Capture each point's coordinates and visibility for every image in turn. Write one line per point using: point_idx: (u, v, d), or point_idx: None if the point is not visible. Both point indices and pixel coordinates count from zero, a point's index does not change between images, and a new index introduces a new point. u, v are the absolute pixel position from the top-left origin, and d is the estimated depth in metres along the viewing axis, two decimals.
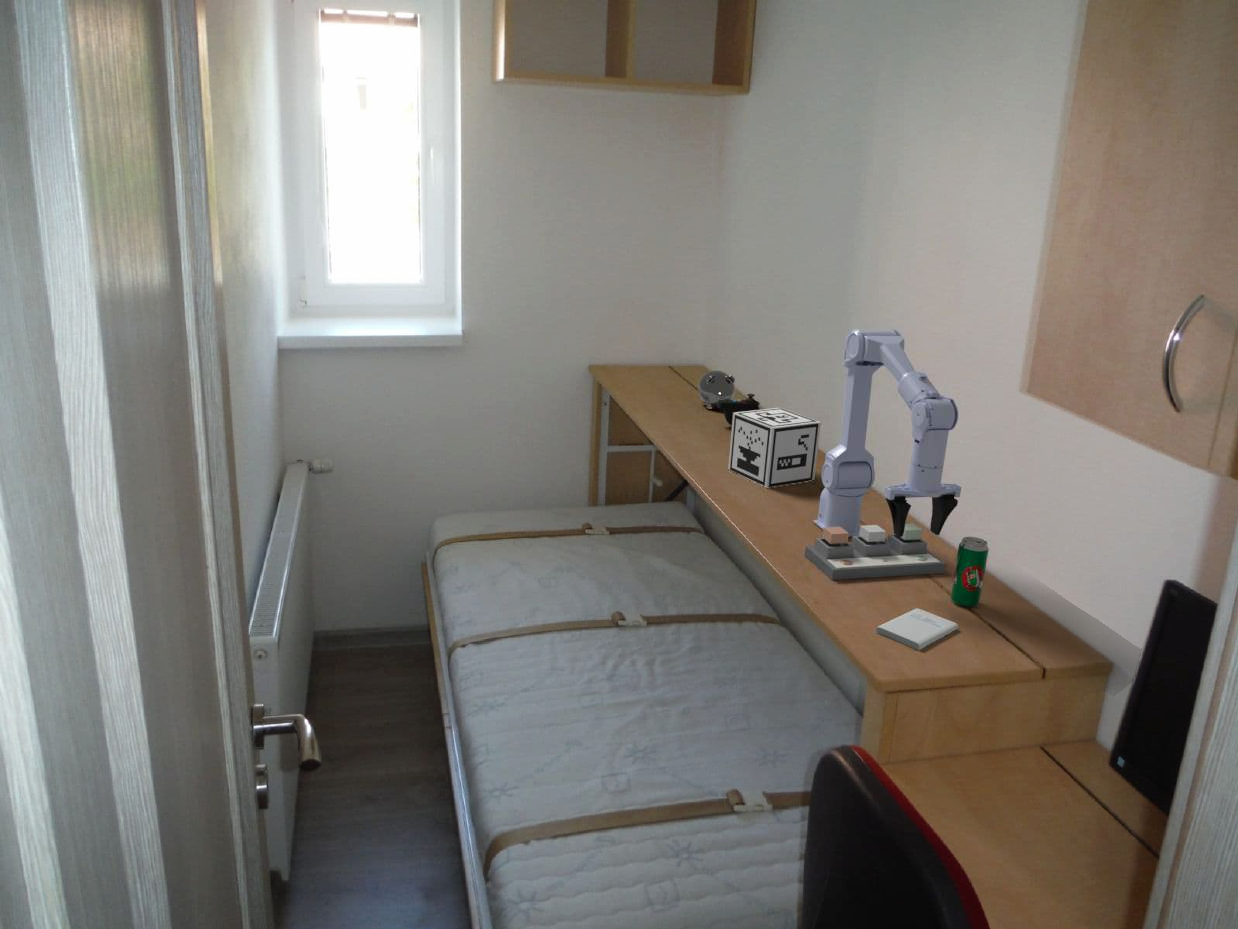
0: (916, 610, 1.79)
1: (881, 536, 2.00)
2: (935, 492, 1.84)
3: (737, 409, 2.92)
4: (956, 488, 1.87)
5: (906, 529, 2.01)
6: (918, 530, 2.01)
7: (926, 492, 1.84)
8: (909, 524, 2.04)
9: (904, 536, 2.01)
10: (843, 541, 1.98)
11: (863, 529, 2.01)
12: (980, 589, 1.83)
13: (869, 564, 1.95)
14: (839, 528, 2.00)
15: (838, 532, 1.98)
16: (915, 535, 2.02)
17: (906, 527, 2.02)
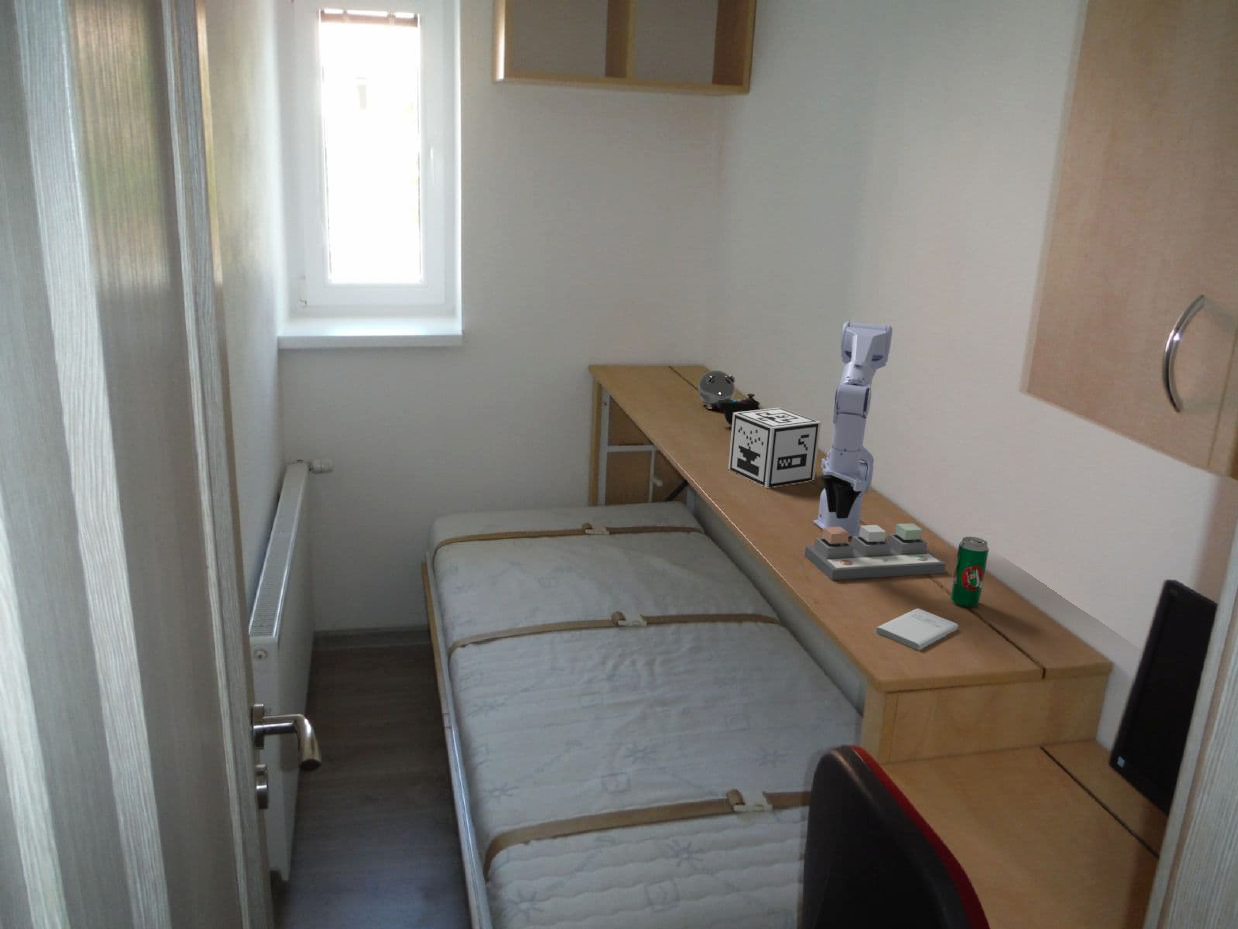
0: (916, 610, 1.79)
1: (881, 536, 2.00)
2: (829, 470, 1.94)
3: (737, 409, 2.92)
4: (853, 480, 1.89)
5: (906, 529, 2.01)
6: (918, 530, 2.01)
7: (827, 468, 1.95)
8: (909, 524, 2.04)
9: (904, 536, 2.01)
10: (843, 541, 1.98)
11: (863, 529, 2.01)
12: (980, 589, 1.83)
13: (869, 564, 1.95)
14: (839, 528, 2.00)
15: (838, 532, 1.98)
16: (915, 535, 2.02)
17: (906, 527, 2.02)
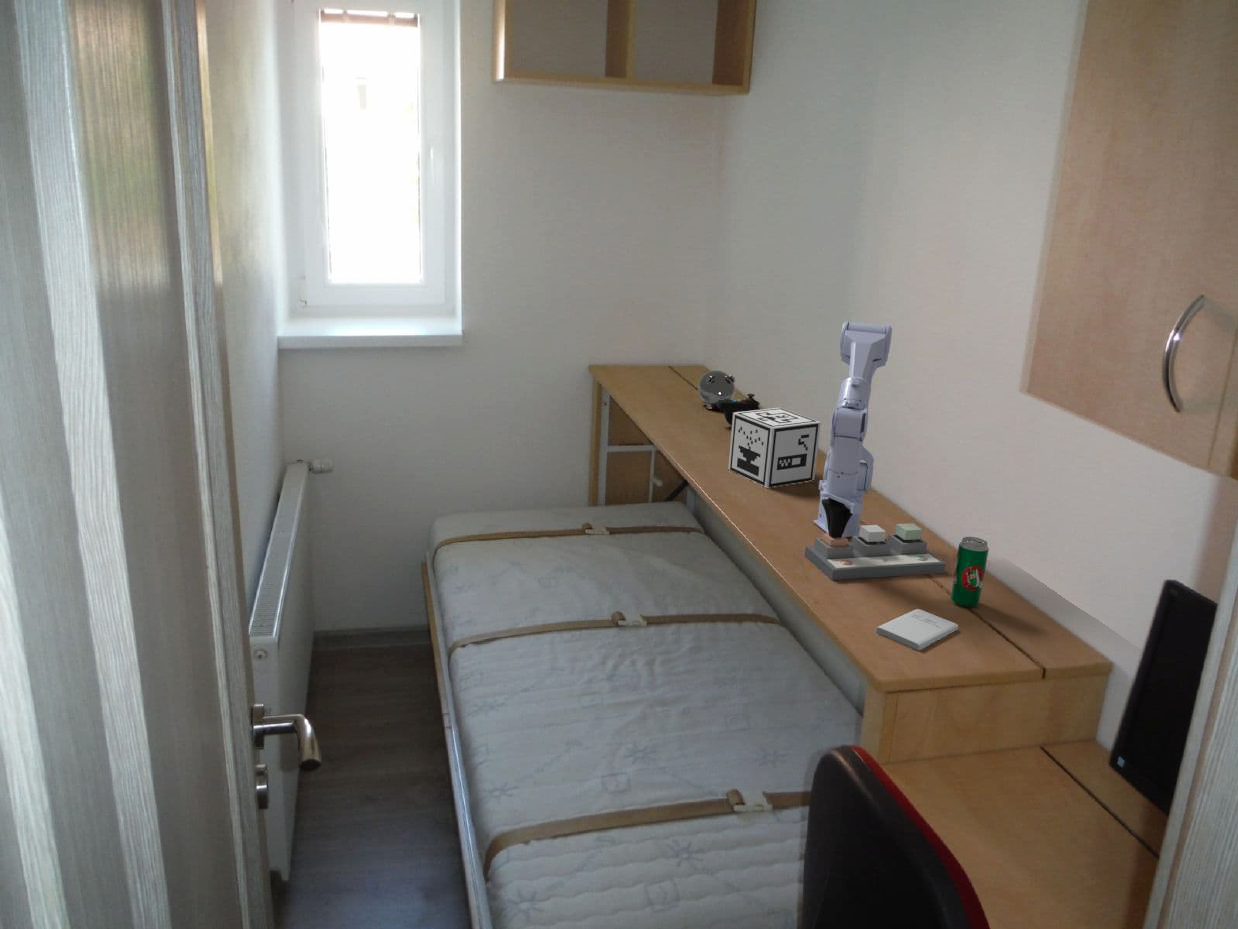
0: (916, 610, 1.79)
1: (881, 536, 2.00)
2: (826, 493, 1.95)
3: (737, 409, 2.92)
4: (850, 503, 1.90)
5: (906, 529, 2.01)
6: (918, 530, 2.01)
7: (824, 490, 1.97)
8: (909, 524, 2.04)
9: (904, 536, 2.01)
10: None
11: (863, 529, 2.01)
12: (980, 589, 1.83)
13: (869, 564, 1.95)
14: None
15: (837, 538, 1.98)
16: (915, 535, 2.02)
17: (906, 527, 2.02)
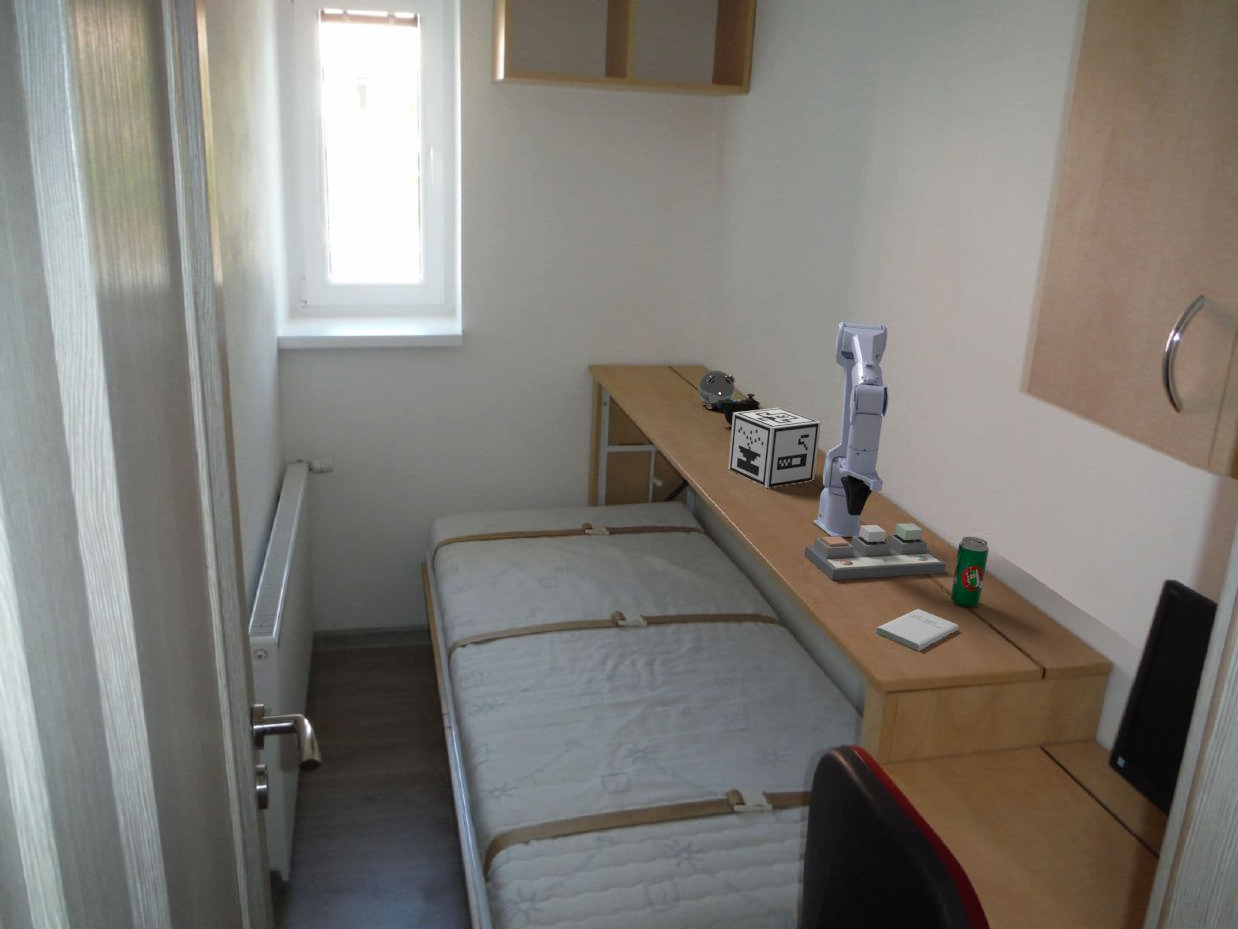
0: (917, 611, 1.78)
1: (881, 536, 2.00)
2: (846, 470, 1.95)
3: (737, 409, 2.92)
4: (870, 480, 1.90)
5: (906, 529, 2.01)
6: (918, 530, 2.01)
7: (843, 468, 1.96)
8: (909, 524, 2.04)
9: (904, 536, 2.01)
10: None
11: (863, 529, 2.01)
12: (980, 589, 1.83)
13: (869, 564, 1.95)
14: (838, 537, 2.01)
15: (837, 542, 1.98)
16: (915, 535, 2.02)
17: (906, 527, 2.02)
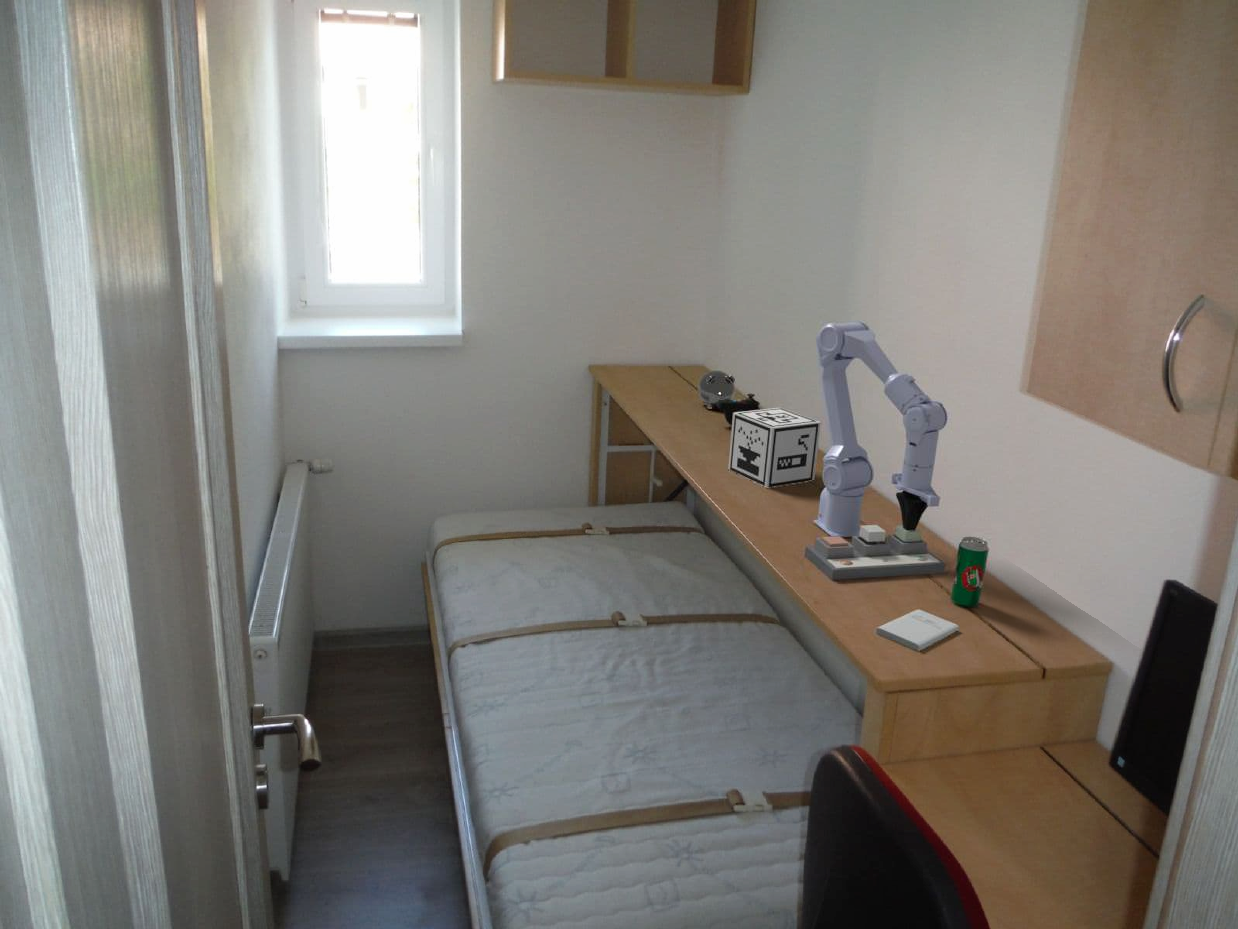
0: (917, 611, 1.78)
1: (881, 536, 2.00)
2: (902, 486, 1.99)
3: (737, 409, 2.92)
4: (927, 496, 1.94)
5: (906, 531, 2.01)
6: (918, 532, 2.02)
7: (899, 484, 2.01)
8: None
9: (904, 538, 2.01)
10: None
11: (863, 529, 2.01)
12: (980, 589, 1.83)
13: (869, 564, 1.95)
14: (838, 537, 2.01)
15: (837, 542, 1.98)
16: (915, 537, 2.02)
17: None
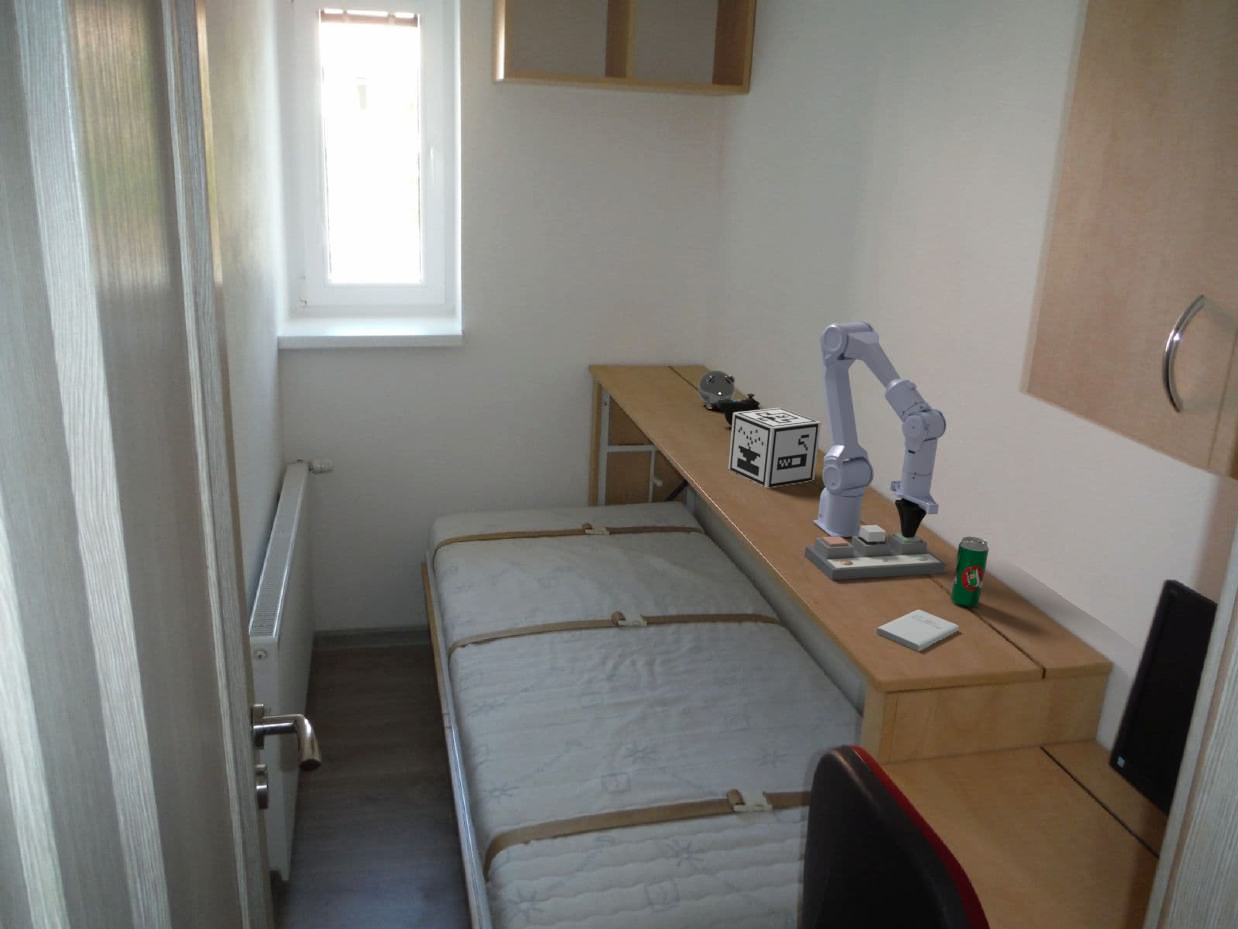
0: (917, 611, 1.78)
1: (881, 536, 2.00)
2: (901, 494, 1.99)
3: (737, 409, 2.92)
4: (926, 504, 1.95)
5: (905, 539, 2.02)
6: (917, 539, 2.02)
7: (898, 491, 2.01)
8: None
9: None
10: None
11: (863, 529, 2.01)
12: (980, 589, 1.83)
13: (869, 564, 1.95)
14: (838, 537, 2.01)
15: (837, 542, 1.98)
16: None
17: None
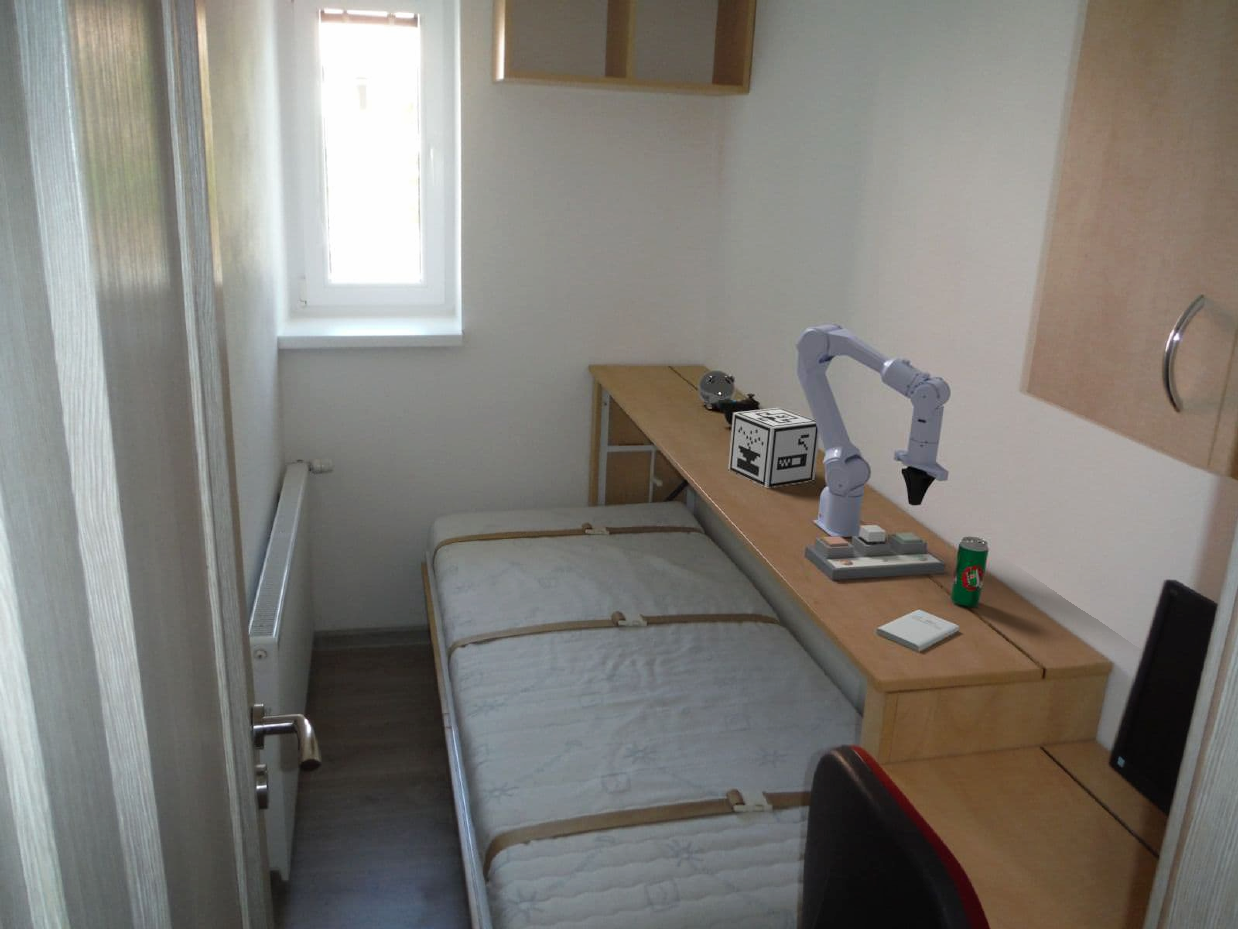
0: (917, 611, 1.78)
1: (881, 536, 2.00)
2: (909, 462, 2.02)
3: (737, 409, 2.92)
4: (936, 471, 1.98)
5: (905, 539, 2.02)
6: (917, 539, 2.02)
7: (905, 460, 2.04)
8: (908, 533, 2.05)
9: None
10: None
11: (863, 529, 2.01)
12: (980, 589, 1.83)
13: (869, 564, 1.95)
14: (838, 537, 2.01)
15: (837, 542, 1.98)
16: None
17: (905, 537, 2.03)
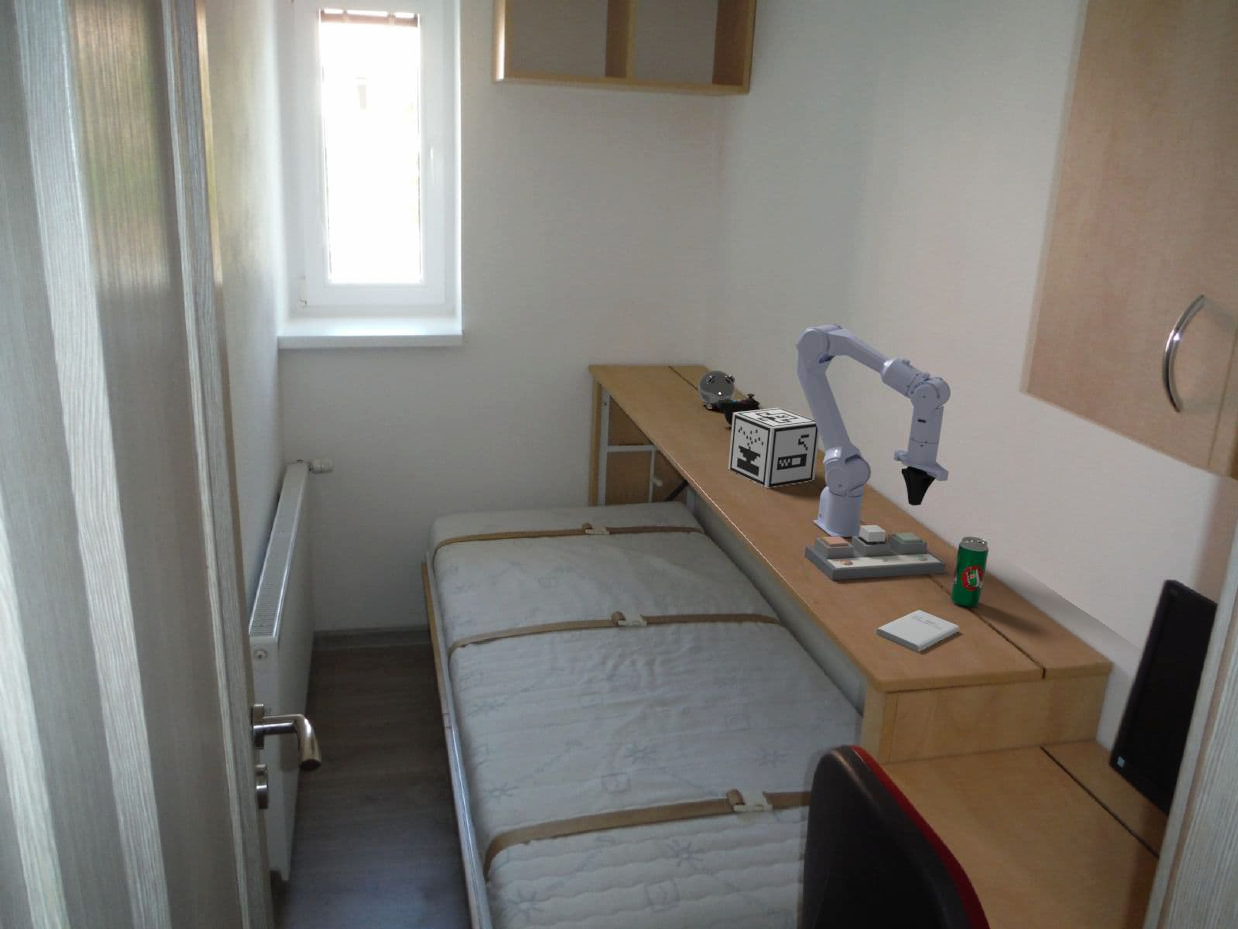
0: (918, 612, 1.78)
1: (881, 536, 2.00)
2: (909, 462, 2.02)
3: (737, 409, 2.92)
4: (936, 471, 1.98)
5: (905, 539, 2.02)
6: (917, 539, 2.02)
7: (905, 460, 2.04)
8: (908, 533, 2.05)
9: None
10: None
11: (863, 529, 2.01)
12: (980, 589, 1.83)
13: (869, 564, 1.95)
14: (838, 537, 2.01)
15: (837, 542, 1.98)
16: None
17: (905, 537, 2.03)
